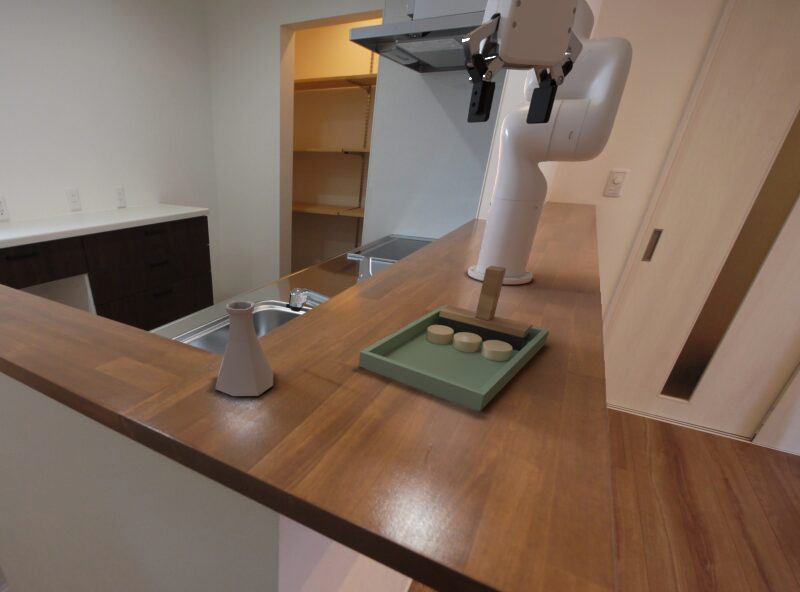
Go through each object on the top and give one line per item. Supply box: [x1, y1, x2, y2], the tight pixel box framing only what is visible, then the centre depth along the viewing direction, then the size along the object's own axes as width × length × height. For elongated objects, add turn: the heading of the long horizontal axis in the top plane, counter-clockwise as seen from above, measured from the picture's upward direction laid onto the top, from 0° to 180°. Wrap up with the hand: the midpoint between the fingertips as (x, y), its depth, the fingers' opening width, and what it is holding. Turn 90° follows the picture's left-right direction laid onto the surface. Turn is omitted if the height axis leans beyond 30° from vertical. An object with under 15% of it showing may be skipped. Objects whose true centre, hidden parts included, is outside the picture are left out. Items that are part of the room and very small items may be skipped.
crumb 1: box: [426, 325, 454, 344], centre depth 61 cm, size 4×4×2 cm
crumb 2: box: [452, 332, 482, 352], centre depth 59 cm, size 4×4×2 cm
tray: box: [358, 304, 550, 412], centre depth 57 cm, size 24×16×3 cm, turn 137°
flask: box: [214, 300, 274, 397], centre depth 50 cm, size 7×7×10 cm
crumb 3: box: [481, 340, 512, 361], centre depth 57 cm, size 4×4×2 cm
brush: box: [438, 266, 533, 351], centre depth 60 cm, size 3×12×10 cm, turn 47°
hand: (507, 122), depth 55 cm, fingers open, 9 cm apart
